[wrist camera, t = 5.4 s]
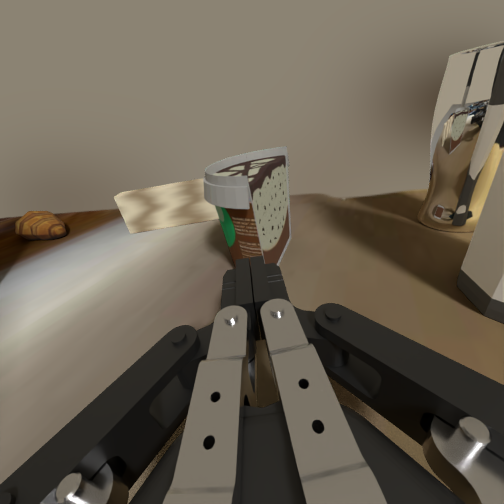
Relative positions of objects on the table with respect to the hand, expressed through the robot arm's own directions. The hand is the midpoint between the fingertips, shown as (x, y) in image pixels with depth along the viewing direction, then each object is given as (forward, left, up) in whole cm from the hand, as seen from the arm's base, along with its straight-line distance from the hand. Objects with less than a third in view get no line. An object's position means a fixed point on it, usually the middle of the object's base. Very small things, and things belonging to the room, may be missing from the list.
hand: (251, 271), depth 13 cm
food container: (0, +11, -6) cm, 13 cm away
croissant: (-38, +31, -7) cm, 49 cm away
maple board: (-8, +26, -6) cm, 27 cm away
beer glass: (+22, +12, -6) cm, 26 cm away
